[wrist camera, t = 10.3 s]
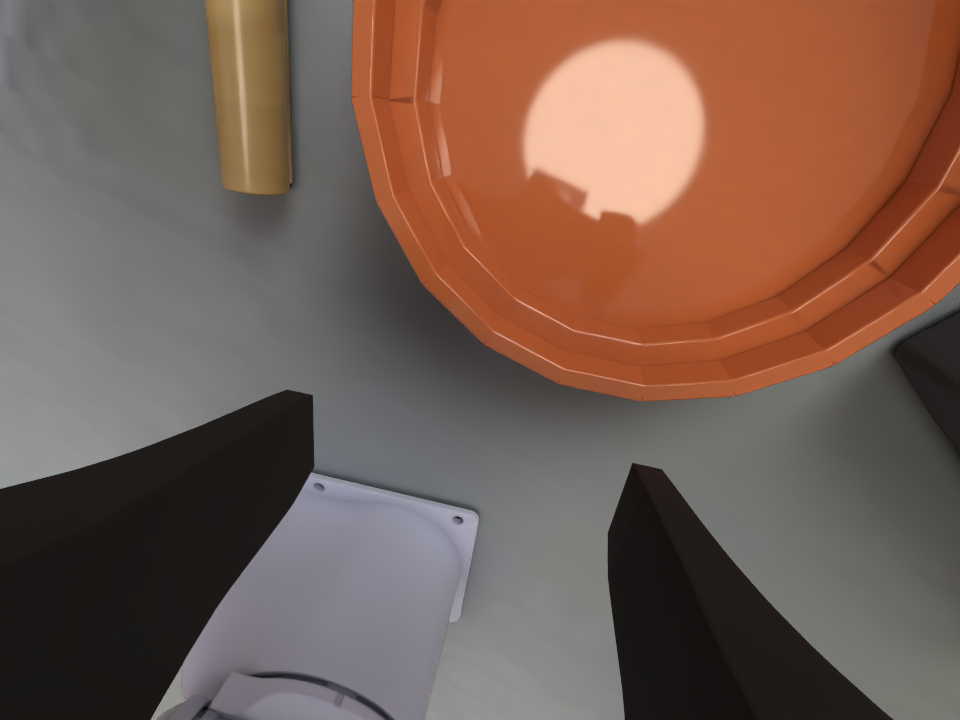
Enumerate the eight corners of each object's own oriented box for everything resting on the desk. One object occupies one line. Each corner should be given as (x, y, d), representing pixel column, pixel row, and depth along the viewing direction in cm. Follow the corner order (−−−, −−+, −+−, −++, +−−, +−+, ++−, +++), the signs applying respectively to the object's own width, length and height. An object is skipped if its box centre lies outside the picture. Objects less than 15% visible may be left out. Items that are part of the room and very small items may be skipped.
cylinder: (300, 190, 18) (268, 198, 16) (246, 180, 18) (207, 187, 16) (293, -161, 14) (247, -209, 12) (221, -170, 14) (164, -218, 12)
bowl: (385, 301, 19) (344, 339, 16) (425, -341, 12) (363, -542, 8) (817, 388, 18) (878, 452, 14) (1176, -276, 10) (1490, -483, 7)
